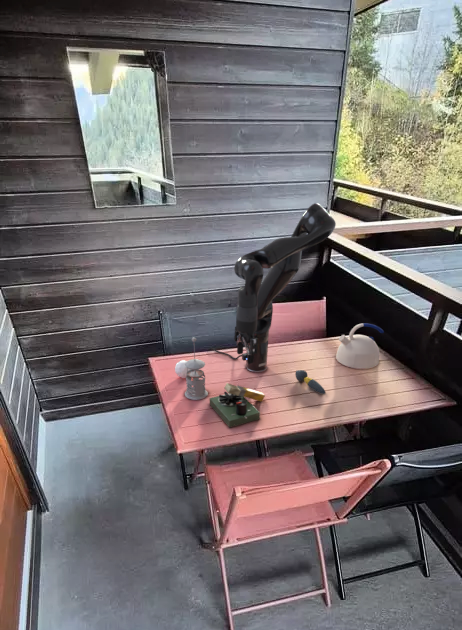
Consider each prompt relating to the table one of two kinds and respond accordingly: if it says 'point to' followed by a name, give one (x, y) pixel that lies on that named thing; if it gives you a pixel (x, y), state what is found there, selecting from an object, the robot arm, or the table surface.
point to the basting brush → (244, 392)
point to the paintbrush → (309, 381)
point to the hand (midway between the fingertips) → (245, 358)
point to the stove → (234, 412)
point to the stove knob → (241, 407)
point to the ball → (181, 369)
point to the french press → (195, 378)
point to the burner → (228, 399)
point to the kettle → (358, 349)
